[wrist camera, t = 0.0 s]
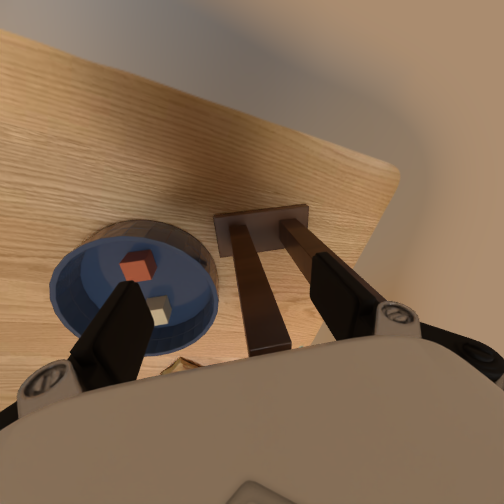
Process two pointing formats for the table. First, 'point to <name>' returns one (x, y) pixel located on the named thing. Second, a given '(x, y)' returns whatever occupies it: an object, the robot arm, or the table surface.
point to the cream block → (159, 309)
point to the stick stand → (252, 273)
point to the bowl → (163, 282)
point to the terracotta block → (138, 266)
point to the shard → (179, 366)
